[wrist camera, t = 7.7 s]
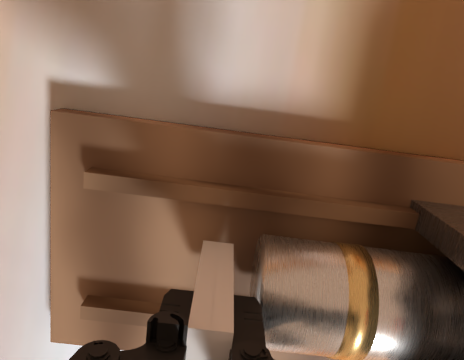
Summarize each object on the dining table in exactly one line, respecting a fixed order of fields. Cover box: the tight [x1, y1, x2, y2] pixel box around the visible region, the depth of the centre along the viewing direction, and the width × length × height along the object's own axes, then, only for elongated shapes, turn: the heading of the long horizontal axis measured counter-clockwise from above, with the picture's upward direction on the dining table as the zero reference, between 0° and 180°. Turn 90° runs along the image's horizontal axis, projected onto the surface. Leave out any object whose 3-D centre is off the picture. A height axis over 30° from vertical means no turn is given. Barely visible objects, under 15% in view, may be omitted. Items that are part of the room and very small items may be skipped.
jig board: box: [51, 108, 464, 360], centre depth 20 cm, size 32×13×2 cm, turn 83°
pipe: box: [249, 234, 464, 360], centre depth 17 cm, size 10×5×5 cm, turn 83°
